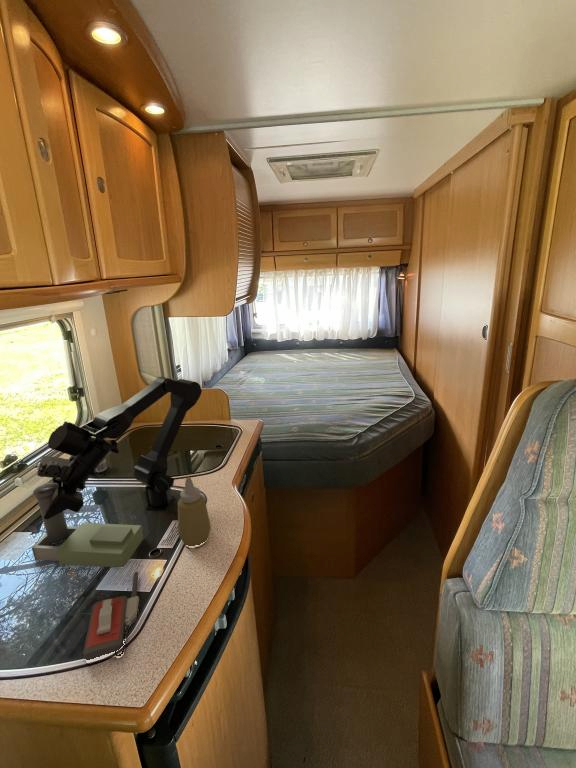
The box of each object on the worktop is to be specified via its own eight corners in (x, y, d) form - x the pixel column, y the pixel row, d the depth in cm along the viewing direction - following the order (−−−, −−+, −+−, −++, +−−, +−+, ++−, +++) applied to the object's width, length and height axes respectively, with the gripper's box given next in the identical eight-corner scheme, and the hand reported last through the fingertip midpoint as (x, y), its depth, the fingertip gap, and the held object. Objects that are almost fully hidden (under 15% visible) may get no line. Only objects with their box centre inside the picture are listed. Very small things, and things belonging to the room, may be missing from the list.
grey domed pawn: (75, 530, 97) (63, 482, 92) (61, 545, 92) (48, 495, 87) (56, 530, 97) (43, 482, 93) (41, 544, 92) (27, 494, 88)
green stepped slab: (143, 538, 98) (140, 521, 96) (123, 567, 89) (120, 549, 87) (59, 534, 101) (55, 517, 99) (31, 562, 91) (26, 544, 89)
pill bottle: (101, 473, 130) (96, 451, 128) (89, 472, 131) (84, 450, 128) (110, 466, 134) (106, 445, 132) (98, 465, 135) (94, 444, 133)
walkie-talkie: (136, 658, 68) (142, 576, 87) (132, 640, 67) (139, 560, 85) (82, 674, 66) (100, 586, 84) (77, 655, 65) (96, 570, 83)
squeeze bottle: (192, 557, 91) (183, 492, 86) (173, 542, 96) (164, 480, 91) (218, 539, 97) (212, 477, 92) (199, 526, 102) (192, 466, 97)
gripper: (56, 430, 97) (15, 481, 95) (54, 461, 81) (5, 523, 79) (96, 450, 103) (58, 498, 101) (102, 483, 87) (57, 540, 85)
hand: (45, 513), depth 92 cm, fingers closed on grey domed pawn, 4 cm apart
